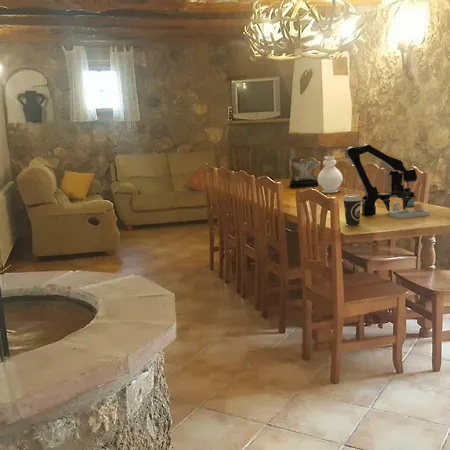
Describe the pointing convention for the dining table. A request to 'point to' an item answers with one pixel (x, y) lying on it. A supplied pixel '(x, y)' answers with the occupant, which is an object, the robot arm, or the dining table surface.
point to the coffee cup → (352, 208)
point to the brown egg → (418, 207)
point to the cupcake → (411, 201)
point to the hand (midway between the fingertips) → (396, 210)
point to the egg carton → (408, 213)
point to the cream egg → (396, 207)
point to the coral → (304, 174)
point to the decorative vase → (330, 176)
